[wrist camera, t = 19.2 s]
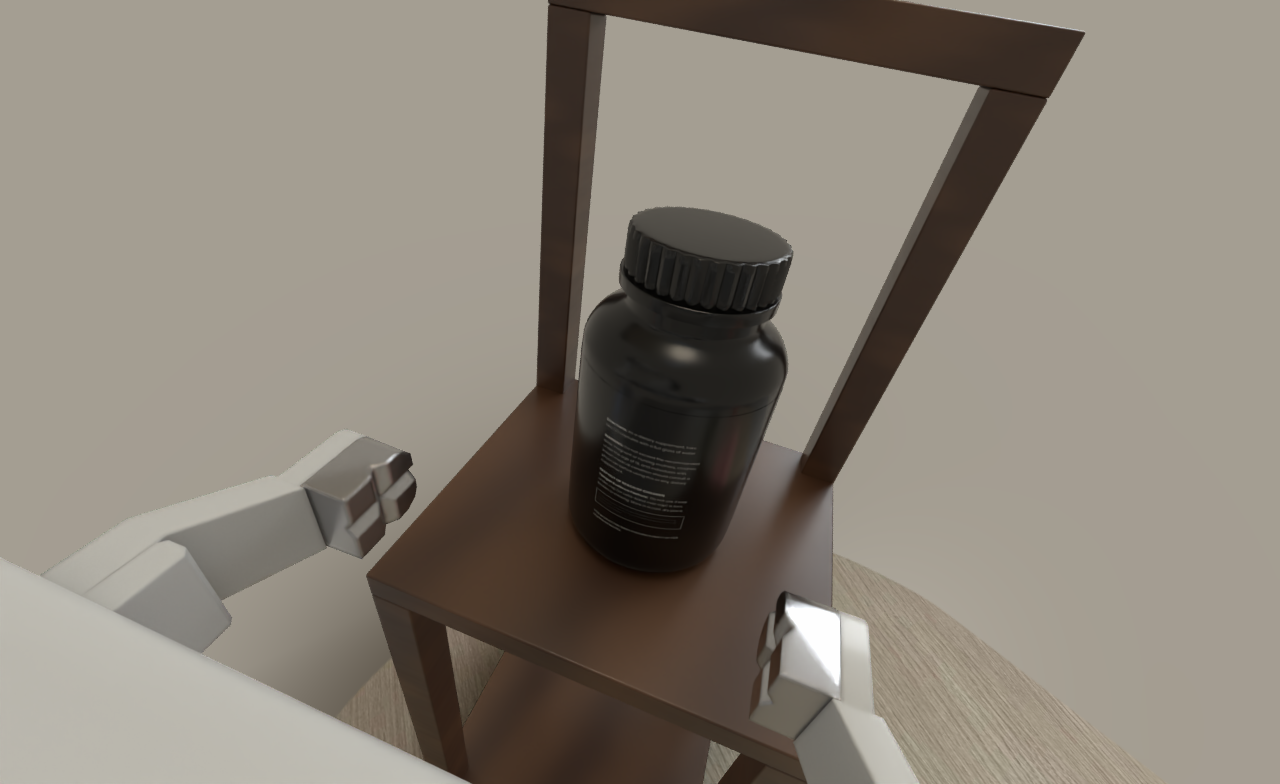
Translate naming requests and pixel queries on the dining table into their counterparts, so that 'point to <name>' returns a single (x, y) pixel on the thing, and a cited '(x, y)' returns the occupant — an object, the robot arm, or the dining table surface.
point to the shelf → (774, 492)
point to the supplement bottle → (677, 387)
